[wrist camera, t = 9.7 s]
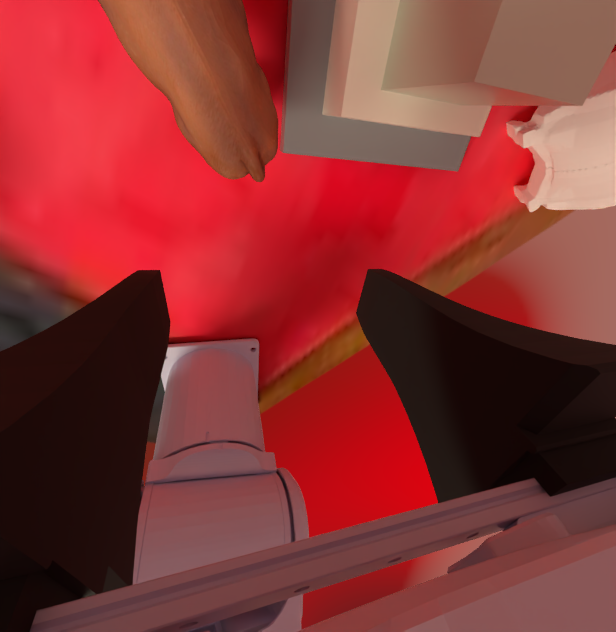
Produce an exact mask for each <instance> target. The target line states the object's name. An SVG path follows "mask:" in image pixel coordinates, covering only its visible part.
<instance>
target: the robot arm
mask: <svg viewBox="0 0 616 632" xmlns="http://www.w3.org/2000/svg"><path fill="white" fill-rule="evenodd" d="M356 314H357V317H358V319H359V322H360V325H361V327H362V330H363V332H364V334H365V336H366V338H367V340H368V341H369V343H370V345H371V346H372V348H373V350H374V352H375V353H376V355H377V357H378V358H379V360H380V362H381V363H382V365H383V367H384V368H385V370H386V372H387V374H388V375H389V377H390V379H391V380H392V382H393V384H394V386H395V388H396V390H397V392H398V395H399V397H400V399H401V401H402V403H403V406H404V408H405V410H406V412H407V415H408V417H409V420H410V422H411V425H412V427H413V430H414V432H415V434H416V437H417V440H418V443H419V445H420V448H421V451H422V454H423V456H424V459H425V462H426V465H427V468H428V471H429V474H430V477H431V480H432V483H433V487H434V490H435V493H436V496H437V500H438V504H434V505H430V506H426V507H423V508H419V509H415V510H411V511H408V512H404V513H400V514H397V515H393V516H389V517H385V518H381V519H378V520H374V521H370V522H366V523H363V524H359V525H355V526H352V527H348V528H344V529H340V530H337V531H333V532H329V533H325V534H321V535H318V536H314V537H311V538H309V530H308V521H307V513H306V507H305V503H304V499H303V495H302V493H301V490H300V487H299V486H298V484H297V482H296V481H295V480H294V478H293V477H292V475H291V474H290V472H289V471H288V470H286V469H284V468H278V469H277V468H276V462H275V457H274V453H272V452H265V447H264V441H263V433H262V426H261V419H260V412H259V405H258V370H259V341H258V340H257V339H254V338H251V339H237V340H223V341H209V342H195V343H181V344H168V341H169V332H170V318H169V313H168V308H167V303H166V298H165V293H164V288H163V283H162V278H161V273H160V270H138V271H136V272H134V273H133V274H131V275H130V276H128V277H127V278H126V279H124V280H123V281H121V282H120V283H118V284H117V285H116V286H114V287H113V288H111V289H110V290H109V291H107V292H106V293H104V294H103V295H101V296H100V297H98V298H97V299H96V300H94V301H93V302H91V303H89V304H88V305H86V306H85V307H83V308H81V309H80V310H78V311H77V312H75V313H73V314H72V315H70V316H69V317H67V318H65V319H64V320H62V321H60V322H59V323H57V324H55V325H53V326H51V327H50V328H48V329H46V330H44V331H42V332H40V333H38V334H36V335H34V336H32V337H30V338H28V339H26V340H24V341H23V342H20V343H18V344H16V345H14V346H12V347H10V348H8V349H5V350H3V351H1V352H0V632H616V418H615V417H616V345H612V344H606V343H601V342H595V341H589V340H583V339H578V338H573V337H568V336H564V335H559V334H555V333H550V332H546V331H542V330H538V329H534V328H530V327H527V326H523V325H519V324H516V323H512V322H509V321H506V320H503V319H500V318H497V317H493V316H490V315H488V314H485V313H482V312H479V311H477V310H474V309H471V308H469V307H466V306H464V305H461V304H459V303H457V302H454V301H452V300H450V299H447V298H445V297H443V296H441V295H439V294H437V293H434V292H432V291H430V290H428V289H426V288H424V287H422V286H420V285H418V284H416V283H414V282H412V281H410V280H408V279H405V278H403V277H401V276H399V275H397V274H394V273H392V272H389V271H387V270H383V269H368V271H367V275H366V279H365V282H364V286H363V290H362V293H361V297H360V301H359V304H358V308H357V312H356ZM251 348H255V349H251ZM160 377H161V378H162V382H163V386H164V390H165V395H164V401H163V406H162V412H161V418H160V423H159V429H158V435H157V440H156V446H155V452H154V457H153V460H151V461H150V462H149V467H148V472H147V477H146V483H145V486H144V484H143V483H144V482H143V480H142V476H143V468H144V459H145V451H146V444H147V437H148V430H149V422H150V417H151V412H152V408H153V404H154V400H155V396H156V392H157V388H158V384H159V380H160ZM501 530H503V532H500V533H498V534H496V535H494V536H492V537H489V538H488V539H486V540H485V541H484V542H483V543H482V544H481V545H480V546H479V548H477V549H476V550H474V551H473V552H472V553H470V554H469V555H468V556H466V557H465V558H463V559H461V560H460V561H458V562H457V563H455V564H453V565H452V566H450V567H449V568H448V571H447V573H448V574H446V575H443V576H440V577H437V578H434V579H432V580H429V581H426V582H424V583H421V584H418V585H416V586H413V587H410V588H407V589H405V590H402V591H399V592H397V593H394V594H392V595H389V596H386V597H384V598H381V599H378V600H376V601H373V602H371V603H368V604H366V605H363V606H360V607H358V608H355V609H353V610H350V611H348V612H345V613H342V614H340V615H337V616H335V617H333V618H330V619H327V620H325V621H322V622H320V623H317V624H315V625H312V626H310V627H307V628H305V629H302V630H301V618H302V610H303V609H302V608H303V607H302V605H303V604H302V603H303V594H304V593H307V592H310V591H314V590H317V589H320V588H323V587H326V586H329V585H332V584H335V583H339V582H341V581H345V580H348V579H351V578H354V577H357V576H360V575H364V574H367V573H369V572H373V571H376V570H379V569H382V568H385V567H388V566H392V565H395V564H398V563H401V562H404V561H407V560H410V559H413V558H417V557H420V556H423V555H426V554H429V553H432V552H435V551H438V550H442V549H445V548H448V547H451V546H454V545H457V544H460V543H464V542H466V541H469V540H473V539H476V538H479V537H482V536H485V535H488V534H491V533H495V532H498V531H501Z"/></svg>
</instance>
